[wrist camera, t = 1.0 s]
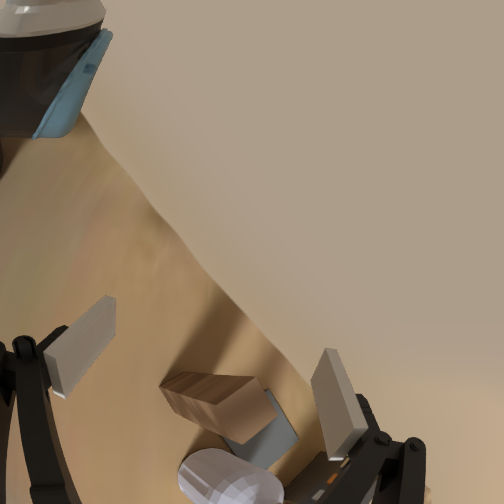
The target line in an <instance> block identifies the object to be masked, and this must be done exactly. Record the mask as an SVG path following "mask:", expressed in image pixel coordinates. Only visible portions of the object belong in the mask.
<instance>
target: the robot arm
mask: <svg viewBox="0 0 504 504" xmlns="http://www.w3.org/2000/svg"><path fill="white" fill-rule="evenodd" d="M105 14H106V9H105V8H104V6H103V5H102V3H101V2H100V0H7V1H6V3H5V4H4V6H3V7H2V8H1V9H0V137H17V138H32V140H34V139H37V138H60V137H63V136H65V135H67V134H68V133H69V132H70V131H71V130H72V129H73V127H74V126H75V123H76V121H77V118H78V115H79V113H80V110H81V107H82V105H83V102H84V99H85V97H86V95H87V92H88V90H89V87H90V85H91V83H92V80H93V78H94V75H95V73H96V71H97V69H98V67H99V65H100V62H101V60H102V58H103V56H104V54H105V52H106V50H107V47H108V46H109V43H110V41H111V39H112V37H113V33H112V32H111V31H108V30H107V29H104V28H103V29H102V30H101V25H102V22H103V19H104V17H105ZM2 162H3V150H2V145H1V140H0V171H1V167H2ZM115 316H116V298H113V297H110V296H107V295H105V296H104V297H103V298H102V299H100V300H99V301H98V302H97V303H96V304H95V305H94V306H92V307H91V308H90V309H89V310H88V311H87V312H86V313H84V314H83V315H82V316H81V317H80V318H79V319H78V320H77V321H76V322H74V323H73V324H72V325H71V326H70V327H68V326H65V325H63V326H60V327H58V328H56V329H55V330H54V331H53V332H51V334H49V335H48V336H47V338H45V339H44V340H43V341H41V342H40V343H39V344H38V345H37V346H36V342H35V340H34V339H33V338H32V337H30V336H26V335H23V336H18V337H16V338H15V339H14V340H13V342H12V346H13V350H14V353H13V352H9V351H6V347H5V345H4V344H3V343H2V342H1V341H0V504H6V459H7V447H8V438H9V430H10V423H11V417H12V411H13V406H14V401H15V396H17V409H18V418H19V426H20V433H21V440H22V446H23V451H24V456H25V461H26V465H27V469H28V473H29V477H30V481H31V487H30V495H31V499H32V502H33V504H82V503H81V500H80V498H79V496H78V493H77V491H76V489H75V486H74V483H73V481H72V478H71V475H70V473H69V470H68V467H67V464H66V461H65V458H64V455H63V451H62V448H61V444H60V441H59V437H58V433H57V429H56V425H55V421H54V417H53V412H52V407H51V402H50V396H49V392H48V389H49V388H50V386H51V385H52V388H53V392H54V393H55V394H57V395H59V396H60V397H62V398H64V399H66V398H67V397H68V395H69V394H70V392H71V391H72V390H73V388H74V387H75V386H76V384H77V383H78V382H79V381H80V379H81V378H82V377H83V375H84V374H85V373H86V371H87V370H88V369H89V368H90V366H91V365H92V364H93V362H94V361H95V360H96V359H97V357H98V356H99V355H100V354H101V352H102V351H103V350H104V348H105V347H106V346H107V345H108V344H109V342H110V341H111V340H112V339H113V337H114V336H115V335H116V334H115ZM311 385H312V389H313V394H314V398H315V402H316V406H317V411H318V415H319V419H320V424H321V428H322V432H323V437H324V441H325V446H326V450H327V455H328V460H343V459H344V457H345V456H346V455H347V454H348V457H349V460H348V461H347V463H346V464H345V465H344V466H343V467H342V468H341V469H340V470H341V471H340V472H339V474H338V475H337V476H336V478H335V479H334V480H333V481H332V483H331V484H330V485H329V487H328V488H327V489H326V490H325V492H324V493H323V494H322V495H321V496H320V498H319V499H318V500H317V501H316V502H315V503H314V504H360V503H361V502H362V500H363V499H364V497H365V495H366V494H367V492H368V490H369V489H370V487H371V485H372V483H373V482H374V480H375V478H376V476H377V475H378V478H377V483H376V487H375V491H374V496H373V500H372V503H371V504H423V503H424V492H425V474H426V447H425V444H424V443H423V441H421V440H420V439H418V438H416V437H411V438H408V439H407V440H406V441H405V442H404V443H402V442H396V441H392V438H391V437H390V436H389V435H388V434H387V433H385V432H383V431H380V429H379V426H378V424H377V422H376V419H375V417H374V415H373V413H372V410H371V408H370V405H369V403H368V401H367V399H366V398H365V397H364V396H363V395H362V394H355V393H354V390H353V388H352V385H351V383H350V380H349V378H348V376H347V373H346V371H345V369H344V366H343V364H342V361H341V359H340V357H339V354H338V352H337V350H336V349H330V348H325V350H324V352H323V354H322V356H321V359H320V361H319V363H318V366H317V367H316V370H315V372H314V374H313V376H312V378H311Z"/></svg>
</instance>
